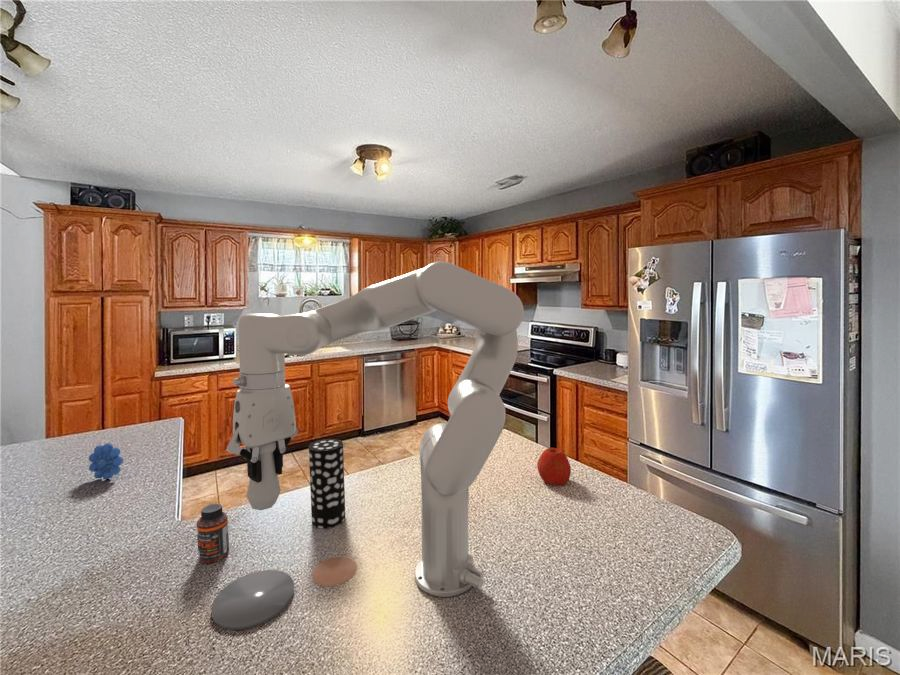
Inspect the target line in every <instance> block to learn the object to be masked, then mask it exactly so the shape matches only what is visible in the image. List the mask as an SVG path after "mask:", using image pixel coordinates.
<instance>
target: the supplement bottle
mask: <svg viewBox="0 0 900 675" xmlns="http://www.w3.org/2000/svg"><path fill="white" fill-rule="evenodd" d="M228 520H229V517H228V515H227V513H226V512H224V511H223V505H222V504H220V503H211V504H208V505H204V506H203V507H202V508H201V510H200V517H199V518H198V520H197V522H196V536H197V537H196V539H197V554H198V560H199V561H200V562H201V563H203V564H212V562H213V563H216V562H218V560H219V561H221V560H223V559H224V558H225V557H227V555H228V554H229V553H230V552H229V551H230V541H229V540H230V539H229V538H230V537H229V521H228ZM222 558H223V559H222ZM215 561H216V562H215Z"/></svg>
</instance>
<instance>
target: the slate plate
mask: <svg viewBox="0 0 900 675" xmlns="http://www.w3.org/2000/svg"><path fill="white" fill-rule="evenodd" d="M294 594H295V583H294V580H293V578H292V576H291V575H289V574H288V573H287V572H284V571H281V570H278V569H277V570H276V569H265V570H257V571H254V572H250V573H248V574H245V575H243V576H240V577H238V578H237V579H234V580H233V581H231V582H230V583H229V584H227V585H226V586H225V587H224V588H222V590H220V591H219V592H218V594H217V595H216V596H215V598H214V599H213V602H212V605H211V618H212V620H213V622H214V624H215V625H217V626H218V627H219V628H222V629H224V630H228V631H229V630H230V631H238V630H239V631H240V630H246V629H251V628H255V627H258V626H260V625H262V624H265V623H266V622H268V621H271V620H272V619H274V618H275V617H277V616H278V615H279V614H281V613H282V612H283V611H285V609H286V608H287V607H288V605H289V604H290V603H291V601H292V599H293V597H294Z"/></svg>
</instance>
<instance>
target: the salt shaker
mask: <svg viewBox="0 0 900 675" xmlns="http://www.w3.org/2000/svg"><path fill="white" fill-rule="evenodd" d="M275 449H276V442H272V443H269V444H266V445H262V446H259V454H258V460H259V461H261V471H262V481H261V482H259V483H257V482H255V481H253V480H252V479H250V478H249V482H248V487H247V491H246V492H247V493H246V498H247V500H248V502H249V505H250V508H252V509H253V510H257V511H264V510H268V509H271V508H272V507H274V506H275V504H276V503H277V500H278V499H279V496H280V494H281V490H282V489H281V484H280V480H279V475H278V474H276V468H275V460H274V455H273V451H274V450H275Z"/></svg>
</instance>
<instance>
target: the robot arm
mask: <svg viewBox="0 0 900 675" xmlns="http://www.w3.org/2000/svg"><path fill="white" fill-rule="evenodd" d="M524 310H525V309H524V305H523V302H522V301H521V299H520V297H519V296H518V295H517V293H515V292H514V291H513V290H510V288H507V287H505V286H503V285H500V284H499V283H498V284H497V283H495V282H493V281H492V280H489V279H486V278H484V277H482V276H480V275H478V274H475V273H473V272H471V271H469V270H467V269H465V268H463V267H460V266H458V265H456V264H454V263H451V262H448V261H441V260H439V261H435V262H431V263H430V264H428V265H426V266H425V267H422V268H419V269H415V270H413V271H411V272H408V273H405V274H402V275H398V276H395V277H393V278H391V279H387V280H384V281H381V282H379V283H375V284H371V285H370V286H367V287H365V288H363V289H361V290H360V291H358V292H357V293H355V294H354V295H352V296H349V297H347V298H345V299H342V300H340V301H336V302H333V303H330V304H327V305H324V306H323V307H319V308H316V309H314V310H309V311H304V312H301V313H300V312H299V313H294V314H286V315H279V314H277V313H268V312H267V313H264V312H263V313H261V312H259V313H258V312H257V313H246V314H243V315H241V316H240V317H239V319H238V322H237V325H238V326H237V327H238V330H237V332H238V351H239V352H238V356H239V357H238V358H239V373H238V377H236V378H233V379H232V385H233V386H234V387H239V389H237V390H236V394H235V400H234V405H233V413H232V414H233V417H232V437H231V438H230V440H229V443H228V444H227V447H226V449H225V450H226V452H228V453H230V454H232V455H237V456H240V457H242V458H244V459H245V460H246V464H247V465H246V466H247V467H246V468H247V470H246V471H247V478H249V480H250V479H252V480H253V481H255V482H257V483H259V482H261V481H262V471H261V461H259V460H258V454H259V446H262V445H266V444H269V443H272V442H276V449H275V450H274V451H273V455H274V460H275V468H276V474H277V475H278V476H280V475H282V474H283V467H284V453H285V452H286V449H287V447H288V445H289V444H290V442H291V440H292V439H293V438H294V437H296V436H297V435H298V434H299V429H298V427H297V422H296V413H295V412H296V411H295V410H296V409H295V405H294V404H295V403H294V398H293V395H292V390H291V387H290V385H289V384H286V370H285V369H286V368H285V367H286V361H285V354H286V355H292V356H307V355H311V354H313V353H314V352H316V351H318V350H319V349H320V348H323V347H325V346H327V345H329V344H333V343H335V342H338V341H341V340H344V339H347V338H349V337H352V336H355V335H359V334H363V333H367V332H379V331H382V330H386V329H389V328H392V327H395V326H397V325H400V324H403V323H405V322H408V321H412V320H415V319H416V318H420V317H423V316H426V315H429V314H431V313H434V312H440V313H442V314H443V315H445V316H448V317H450V318H452V319H455V320H457V321H459V322H462V323H464V324H466V325H468V326H472V327H473V328H474V329H475V330H474V331H475V334H476V336H475V337H476V338H475V345H474V348H473V349H472V352H471V355H470V356H469V357H468V358H469V359H468V361H467V363H466V364H465V366H464V368H463V370H462V372H461V374H460V376H459V377H458V379H457V380H456V382H455V385H454V386H453V387H452V389H451V390H450V393H449V394H448V398H447V408H448V412H449V414H450V416H449V418H448V421H447V422H439V423H436V424H433V425H431V427H429V428H427V429H426V431H425V432H424V434H423V436H422V438H421V441H420V445H419V461H420V462H419V463H420V465H419V466H420V485H421V486H420V487H421V489H420V490H421V493H420V494H421V559H420V560H419V561H418V562H417V563H416V566H415V569H414V580H415V581H414V582H415V583H416V585H417V587H419V588H420V590H422V591H423V592H424V593H427V594H428V595H430V596H435V597H440V598H448V597H449V598H450V597H455V596H458V595H461V594H463V593H465V592H467V591H468V590H469V589H470V588H472V587H474V588H475V589H478V590H481V589H482V587H483V585H484V578H483V577H484V575H485V571H484V570H483V569H481V568H479V567H476V565H475V564H474V556H473V555H471V554H469V505H470V504H469V503H470V502H469V501H470V500H469V498H470V497H469V488H470V487H471V486H472V485H473V483H474V482H475V480H477V478H478V476H479V474H480V473H481V471H482V470H483V467H484V466H485V464H486V462H487V460H488V458H489V457H490V454H491V453H492V451H493V450H494V448H495V446H496V444H497V442H498V440H499V438H500V436H501V434H502V432H503V430H504V428H505V422H506V406H505V403H504V401H503V400H502V398H501V396H500V394H501V392H502V391H503V388H504V386H505V384H506V382H507V380H508V378H509V376H510V375H511V372H512V370H513V368H514V366H515V362H516V359H517V355H518V352H519V351H518V348H519V338H518V333H517V332H518V331H517V329H518V328H519V327H520V326H521V324H522V323H523V319H524V315H525V314H524V313H525V311H524ZM240 445H242V446H243V447H244V448H243V447H241V446H240Z"/></svg>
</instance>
